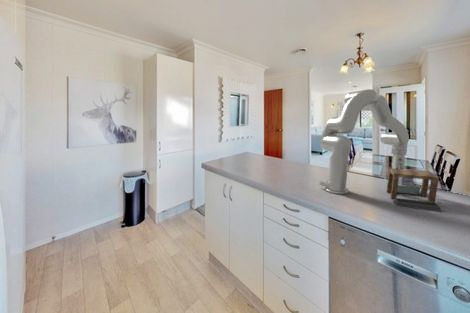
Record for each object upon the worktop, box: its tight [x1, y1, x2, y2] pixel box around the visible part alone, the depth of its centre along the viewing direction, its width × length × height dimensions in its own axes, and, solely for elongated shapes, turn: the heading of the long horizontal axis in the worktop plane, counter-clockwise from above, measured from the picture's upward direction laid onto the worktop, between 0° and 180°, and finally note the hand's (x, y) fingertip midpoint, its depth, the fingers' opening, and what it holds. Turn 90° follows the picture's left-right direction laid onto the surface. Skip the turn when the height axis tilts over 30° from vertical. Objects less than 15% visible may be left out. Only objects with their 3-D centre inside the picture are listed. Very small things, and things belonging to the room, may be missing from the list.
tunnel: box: [386, 167, 440, 203], centre depth 110 cm, size 17×13×14 cm
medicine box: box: [398, 177, 415, 186], centre depth 121 cm, size 8×4×9 cm, turn 101°
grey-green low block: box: [383, 178, 421, 195], centre depth 128 cm, size 12×25×7 cm, turn 154°
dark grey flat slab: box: [393, 197, 442, 212], centre depth 101 cm, size 16×6×2 cm, turn 64°
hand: (395, 179), depth 138 cm, fingers open, 2 cm apart
